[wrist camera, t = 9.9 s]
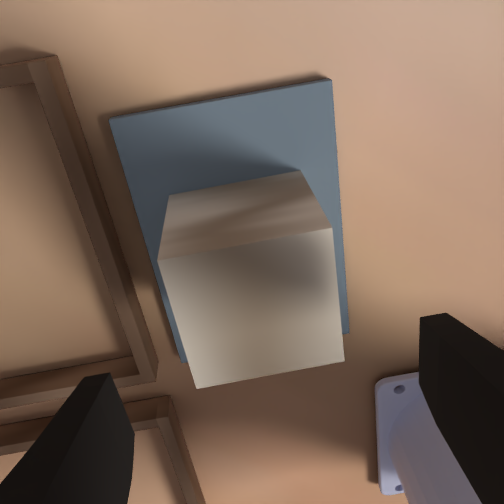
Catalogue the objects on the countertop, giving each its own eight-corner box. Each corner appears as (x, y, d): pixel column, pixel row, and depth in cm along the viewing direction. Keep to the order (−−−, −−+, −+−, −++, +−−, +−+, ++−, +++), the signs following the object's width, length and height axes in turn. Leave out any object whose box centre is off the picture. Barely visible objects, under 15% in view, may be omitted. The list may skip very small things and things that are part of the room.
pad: (328, 78, 15) (332, 80, 15) (347, 327, 20) (349, 333, 19) (110, 117, 15) (108, 119, 15) (182, 356, 20) (181, 363, 19)
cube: (300, 170, 16) (332, 227, 12) (314, 281, 18) (344, 361, 14) (169, 195, 16) (157, 260, 12) (198, 303, 18) (196, 389, 14)
